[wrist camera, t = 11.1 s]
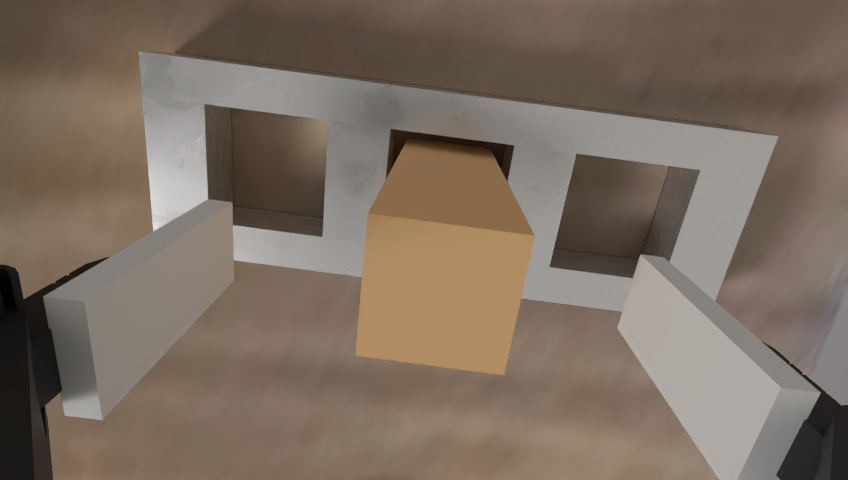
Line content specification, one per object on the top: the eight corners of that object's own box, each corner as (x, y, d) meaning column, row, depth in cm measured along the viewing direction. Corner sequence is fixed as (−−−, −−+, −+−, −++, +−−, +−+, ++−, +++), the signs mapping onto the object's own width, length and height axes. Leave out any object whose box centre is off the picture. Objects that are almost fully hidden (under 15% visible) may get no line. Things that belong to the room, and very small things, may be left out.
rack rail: (184, 231, 28) (154, 249, 25) (173, 52, 25) (138, 51, 22) (680, 297, 28) (706, 322, 25) (740, 128, 25) (778, 136, 22)
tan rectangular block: (399, 215, 27) (355, 355, 14) (408, 137, 26) (367, 213, 13) (476, 226, 27) (503, 375, 14) (490, 148, 26) (535, 235, 13)
